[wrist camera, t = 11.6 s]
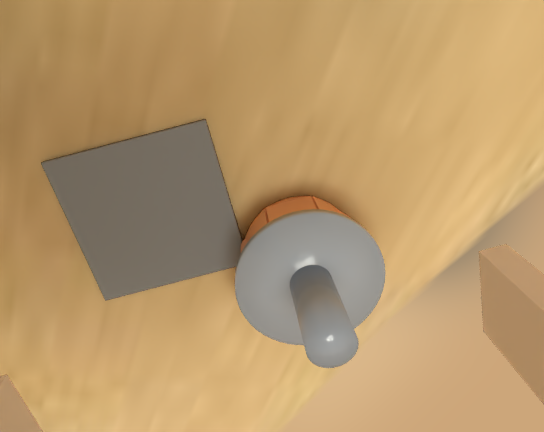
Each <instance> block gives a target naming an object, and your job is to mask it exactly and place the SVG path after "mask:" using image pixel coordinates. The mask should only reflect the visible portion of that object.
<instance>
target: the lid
mask: <svg viewBox="0 0 544 432" xmlns="http://www.w3.org/2000/svg"><path fill="white" fill-rule="evenodd" d="M384 282H385V264H384V260H383V256H382V254H381V251H380V249H379V247H378V245H377V244H376V242H375V240H374V239H373V237H372V236H371V235H370V234H369V232H368V231H367V230H366V229H365V228H364V227H363V226H362V225H361V224H359V223H358V222H357V221H355V220H353V219H352V218H350V217H348V216H346V215H344V214H341V213H338V212H334V211H329V210H323V209H308V210H300V211H295V212H291V213H288V214H285V215H282V216H280V217H278V218H276V219H274V220H272V221H271V222H269V223H267V224H266V225H264V226H263V227H262V228H261V229H259V230H258V231H257V232H256V233H255V234H254V235H253V236H252V237H251V238H250V240H249V241H248V242H247V244H246V245H245V247H244V248H243V250H242V252H241V254H240V256H239V259H238V262H237V266H236V270H235V292H236V298H237V302H238V305H239V307H240V310H241V312H242V313H243V315H244V317H245V318H246V319H247V321H248V322H249V323H250V324H251V325H252V326H253V327H254V328H255V329H256V330H258V331H259V332H261V333H262V334H263V335H265V336H267V337H269V338H271V339H274V340H276V341H279V342H283V343H287V344H294V345H304V346H305V350H306V354H307V357H308V358H309V360H310V361H311V362H312V363H313V364H315V365H317V366H319V367H323V368H334V367H338V366H341V365H343V364H345V363H347V362H348V361H349V360H351V359H352V358H353V356H354V355H355V354H356V352H357V349H358V338H357V336H356V333H355V331H354V328H356V327H357V326H358V325H360V324H361V323H362V322H363V321H364V320H365V319H366V318H367V317H368V316H369V314H370V313H371V312H372V311H373V309H374V308H375V306H376V305H377V303H378V301H379V299H380V296H381V294H382V291H383V287H384Z"/></svg>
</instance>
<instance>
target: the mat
mask: <svg viewBox="0 0 544 432" xmlns="http://www.w3.org/2000/svg"><path fill="white" fill-rule="evenodd" d="M41 165H42V167H43V169H44V171H45V173H46V175H47V177H48V179H49V182H50V184H51V186H52V188H53V190H54V192H55V194H56V196H57V199H58V201H59V203H60V205H61V207H62V209H63V211H64V213H65V216H66V218H67V220H68V222H69V224H70V226H71V228H72V230H73V233H74V235H75V237H76V239H77V241H78V243H79V245H80V247H81V250H82V252H83V254H84V256H85V258H86V260H87V262H88V264H89V267H90V269H91V271H92V273H93V275H94V277H95V279H96V282H97V284H98V286H99V288H100V290H101V292H102V294H103V296H104V299H105V301H106V300H110V299H114V298H117V297H121V296H125V295H129V294H133V293H137V292H140V291H144V290H148V289H152V288H156V287H160V286H163V285H167V284H171V283H175V282H179V281H183V280H186V279H190V278H194V277H198V276H202V275H205V274H209V273H213V272H217V271H221V270H225V269H228V268H232V267H236V266H237V262H238V259H239V256H240V254H241V248H240V247H241V243H242V238H241V235H240V232H239V228H238V225H237V222H236V218H235V215H234V212H233V208H232V205H231V202H230V198H229V195H228V192H227V188H226V185H225V182H224V178H223V175H222V172H221V169H220V165H219V162H218V159H217V155H216V152H215V149H214V145H213V142H212V139H211V135H210V132H209V129H208V125H207V122H206V119H203V120H199V121H196V122H192V123H188V124H184V125H180V126H177V127H173V128H169V129H165V130H161V131H158V132H154V133H150V134H146V135H142V136H139V137H135V138H131V139H127V140H123V141H120V142H116V143H112V144H108V145H104V146H100V147H97V148H93V149H89V150H85V151H81V152H78V153H74V154H70V155H66V156H62V157H59V158H55V159H51V160H47V161H43V162H42V163H41Z"/></svg>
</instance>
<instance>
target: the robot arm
mask: <svg viewBox="0 0 544 432" xmlns="http://www.w3.org/2000/svg"><path fill="white" fill-rule="evenodd" d="M479 265H480V282H481V299H482V316H483V331H484V332H485V333H486V335H487V336H488V337H489V339H490V340H491V341H492V342H493V343H494V345H495V346H496V347H497V348H498V349H499V351H500V352H501V353H502V354H503V356H504V357H505V358H506V359H507V360H508V362H509V363H510V364H511V365H512V366H513V368H514V369H515V370H516V371H517V373H518V374H519V375H520V376H521V377H522V379H523V380H524V381H525V382H526V383H527V385H528V386H529V387H530V388H531V390H532V391H533V392H534V393H535V394H536V396H537V397H538V398H539V399H540V400H541V402H542V403H543V404H544V274H543V273H542V272H540V271H539V270H538V269H537V268H535V267H534V266H533V265H532V264H531V263H529V262H528V261H527V260H526V259H524V258H523V257H522V256H521V255H519V254H518V253H517V252H516V251H514V250H513V249H512V248H511V247H509V246H508V245H507V244H505V245H500V246H497V247H493V248H489V249H485V250H481V251H479ZM0 432H43V431H42V429H41V428H40V426H39V424H38V423H37V421H36V420H35V418H34V416H33V415H32V413H31V412H30V410H29V409H28V407H27V405H26V404H25V402H24V401H23V399H22V397H21V396H20V394H19V393H18V391H17V389H16V388H15V386H14V385H13V383H12V382H11V380H10V378H9V377H8V375H7V374H6V375H2V376H0Z"/></svg>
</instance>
